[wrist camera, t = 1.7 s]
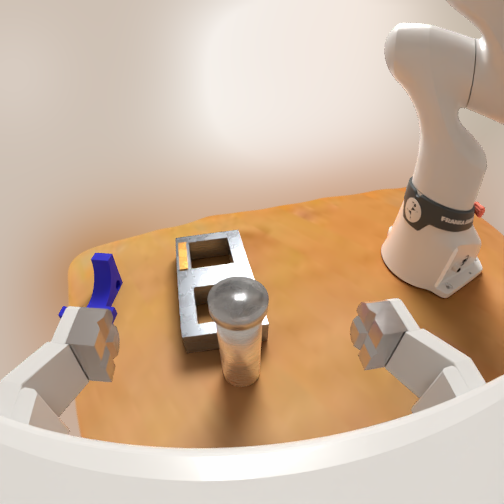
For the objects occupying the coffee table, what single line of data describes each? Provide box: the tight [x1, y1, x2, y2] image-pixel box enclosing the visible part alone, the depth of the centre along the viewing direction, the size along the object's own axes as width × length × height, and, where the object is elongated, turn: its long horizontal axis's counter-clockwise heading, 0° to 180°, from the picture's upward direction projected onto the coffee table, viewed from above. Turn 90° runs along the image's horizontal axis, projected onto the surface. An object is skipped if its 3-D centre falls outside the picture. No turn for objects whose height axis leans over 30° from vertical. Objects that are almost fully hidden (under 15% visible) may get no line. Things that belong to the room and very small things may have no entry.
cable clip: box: [59, 253, 123, 324], centre depth 37 cm, size 12×4×6 cm, turn 176°
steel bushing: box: [208, 276, 269, 387], centre depth 29 cm, size 5×5×13 cm
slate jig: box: [176, 230, 269, 353], centre depth 41 cm, size 10×19×4 cm, turn 13°
